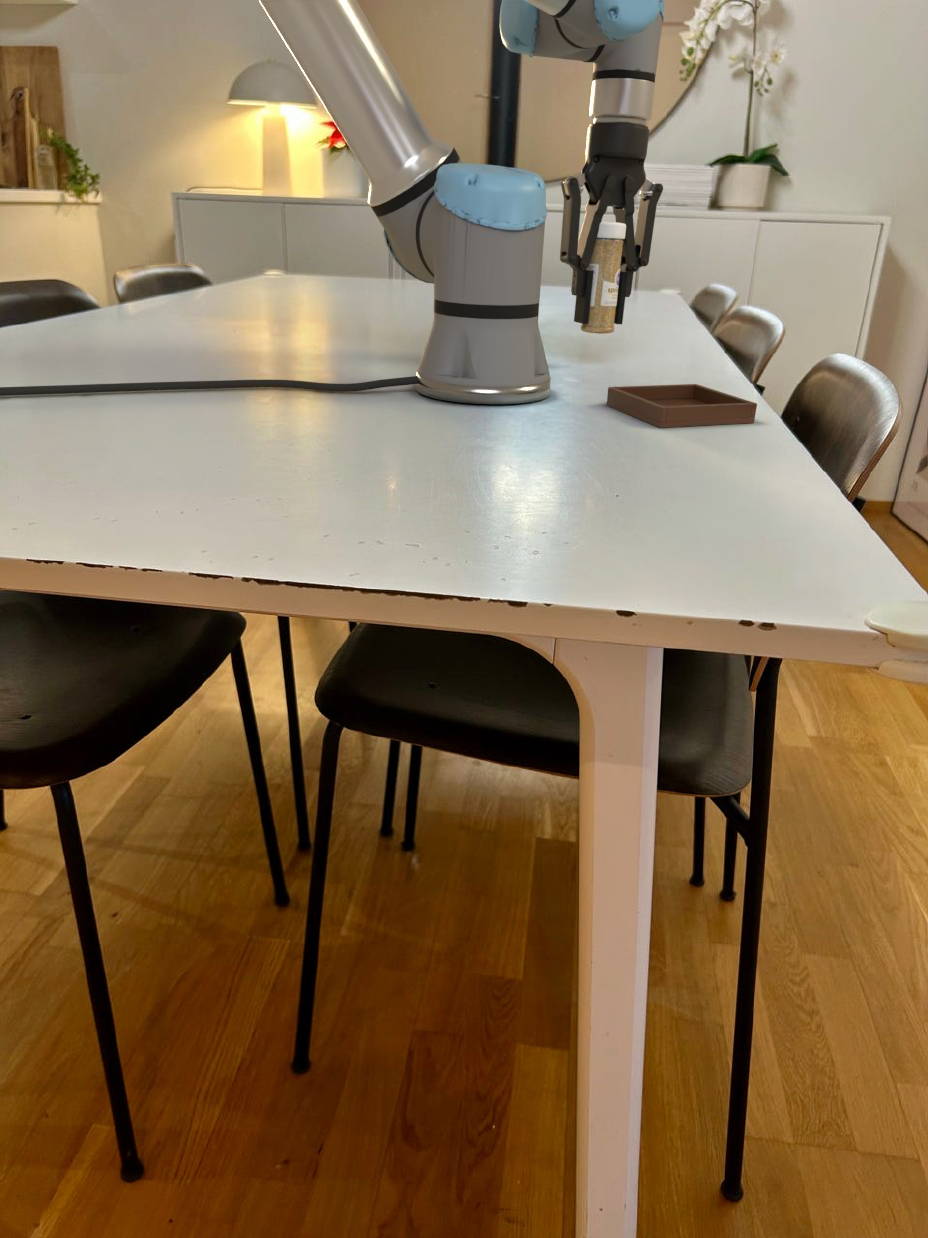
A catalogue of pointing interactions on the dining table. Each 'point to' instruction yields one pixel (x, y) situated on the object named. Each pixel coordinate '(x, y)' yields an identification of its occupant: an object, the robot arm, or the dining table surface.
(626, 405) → the serving tray
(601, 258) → the spice jar
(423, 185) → the robot arm
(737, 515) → the dining table surface
